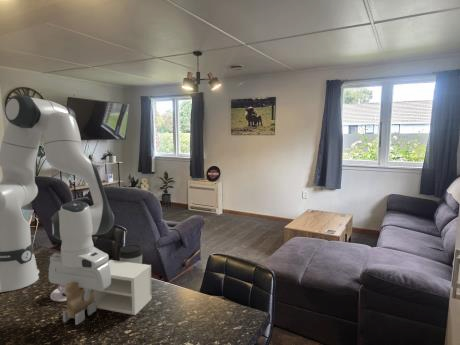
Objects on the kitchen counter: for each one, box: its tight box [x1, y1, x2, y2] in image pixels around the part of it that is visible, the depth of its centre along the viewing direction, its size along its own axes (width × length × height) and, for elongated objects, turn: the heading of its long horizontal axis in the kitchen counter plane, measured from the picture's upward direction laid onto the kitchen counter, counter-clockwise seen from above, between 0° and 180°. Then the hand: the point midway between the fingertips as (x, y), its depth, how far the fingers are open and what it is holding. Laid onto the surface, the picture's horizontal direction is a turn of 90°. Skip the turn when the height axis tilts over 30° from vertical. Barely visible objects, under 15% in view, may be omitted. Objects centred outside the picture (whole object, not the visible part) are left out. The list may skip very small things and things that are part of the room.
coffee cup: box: [118, 244, 144, 264], centre depth 110 cm, size 8×8×15 cm
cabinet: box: [62, 259, 153, 325], centre depth 95 cm, size 19×19×12 cm
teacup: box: [49, 284, 67, 303], centre depth 106 cm, size 12×12×6 cm
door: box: [65, 282, 94, 319], centre depth 92 cm, size 3×8×10 cm, turn 165°
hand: (80, 299), depth 92 cm, fingers closed on door, 2 cm apart
